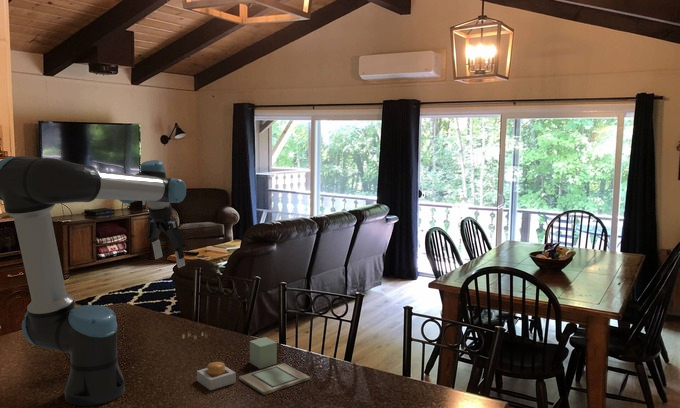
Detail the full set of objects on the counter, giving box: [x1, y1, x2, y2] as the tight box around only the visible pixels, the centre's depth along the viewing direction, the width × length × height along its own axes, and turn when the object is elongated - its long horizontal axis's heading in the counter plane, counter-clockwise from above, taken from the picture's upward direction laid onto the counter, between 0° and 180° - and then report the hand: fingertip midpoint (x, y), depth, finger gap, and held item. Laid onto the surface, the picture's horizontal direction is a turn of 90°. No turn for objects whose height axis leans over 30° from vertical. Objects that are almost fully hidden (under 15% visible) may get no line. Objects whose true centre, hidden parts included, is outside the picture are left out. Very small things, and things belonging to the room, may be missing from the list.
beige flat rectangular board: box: [238, 362, 311, 396], centre depth 167 cm, size 16×13×1 cm
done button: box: [207, 361, 226, 377], centre depth 164 cm, size 5×5×3 cm
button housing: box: [196, 365, 237, 391], centre depth 165 cm, size 8×8×3 cm
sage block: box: [249, 336, 278, 370], centre depth 178 cm, size 6×6×7 cm
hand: (170, 262), depth 203 cm, fingers open, 13 cm apart
